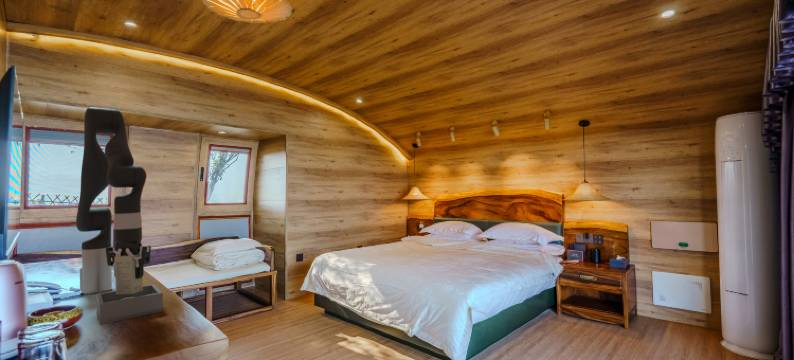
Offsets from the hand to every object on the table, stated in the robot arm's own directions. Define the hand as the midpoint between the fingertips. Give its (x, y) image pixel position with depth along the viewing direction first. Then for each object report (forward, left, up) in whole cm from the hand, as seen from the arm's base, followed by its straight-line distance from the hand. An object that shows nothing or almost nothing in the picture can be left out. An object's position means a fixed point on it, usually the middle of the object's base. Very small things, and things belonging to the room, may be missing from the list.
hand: (129, 278), depth 122 cm
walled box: (0, 0, -11) cm, 11 cm away
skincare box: (0, 0, -5) cm, 5 cm away
